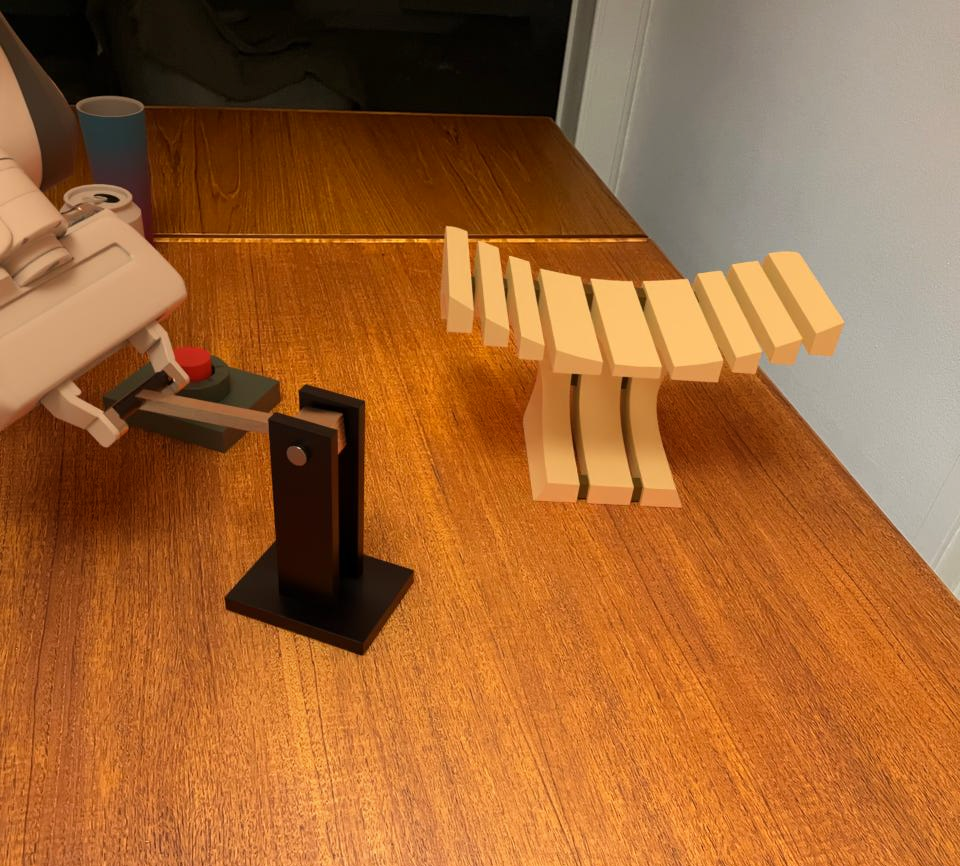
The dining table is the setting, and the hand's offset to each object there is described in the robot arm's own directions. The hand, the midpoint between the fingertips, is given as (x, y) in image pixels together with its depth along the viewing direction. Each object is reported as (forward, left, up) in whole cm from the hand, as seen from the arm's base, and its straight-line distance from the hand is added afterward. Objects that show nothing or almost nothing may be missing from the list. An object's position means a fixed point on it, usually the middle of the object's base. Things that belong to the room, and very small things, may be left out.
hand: (150, 414), depth 70 cm
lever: (+6, -2, 0) cm, 7 cm away
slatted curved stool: (+34, +19, -12) cm, 41 cm away
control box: (-3, +20, -12) cm, 23 cm away
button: (-3, +20, -8) cm, 22 cm away
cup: (-18, +53, -12) cm, 57 cm away
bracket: (+12, -4, -12) cm, 17 cm away
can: (-15, +37, -12) cm, 41 cm away
